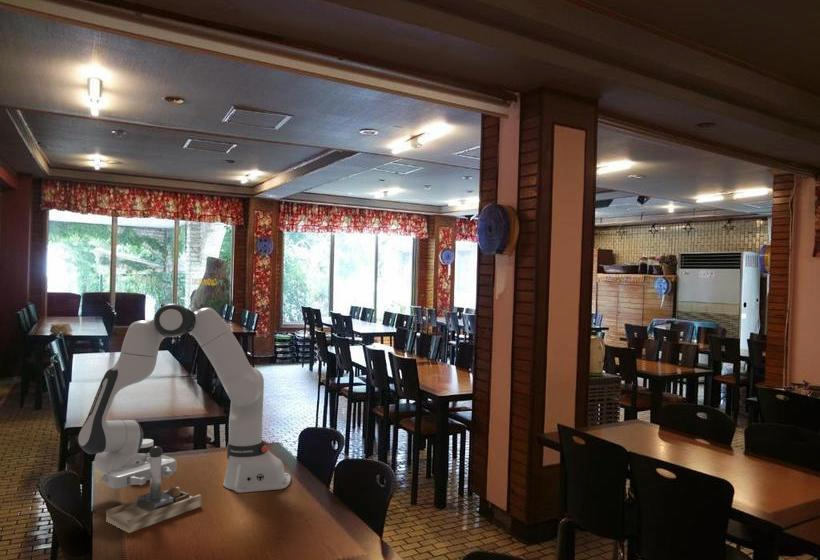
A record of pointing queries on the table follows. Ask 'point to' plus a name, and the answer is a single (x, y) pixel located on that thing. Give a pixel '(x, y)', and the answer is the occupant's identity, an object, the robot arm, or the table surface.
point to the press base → (138, 518)
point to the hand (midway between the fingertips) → (157, 477)
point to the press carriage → (154, 485)
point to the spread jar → (146, 446)
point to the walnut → (174, 492)
